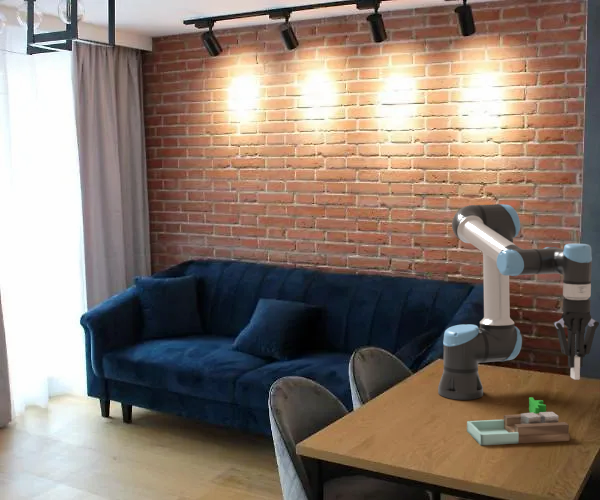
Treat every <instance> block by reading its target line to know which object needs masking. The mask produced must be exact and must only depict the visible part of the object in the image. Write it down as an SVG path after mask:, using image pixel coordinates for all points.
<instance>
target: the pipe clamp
mask: <svg viewBox="0 0 600 500" xmlns="http://www.w3.org/2000/svg"><path fill="white" fill-rule="evenodd" d="M528 411H529V412H528V413H531V412H533V413H535V414H539V412H547V405H546V404H544V400H541V399H538V400H537V399H536V400H535V399H534V396H533V397H532V396H531V397H529V398H528Z"/></svg>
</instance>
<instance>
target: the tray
mask: <svg viewBox="0 0 600 500" xmlns="http://www.w3.org/2000/svg"><path fill="white" fill-rule="evenodd" d="M466 432H467V433H468V434H469V435H470V436H471V437H472V438H473V440H475V441H476V442H477V443H478V444H479V446H495V445H511V444H519V443H518V439H519V433H518V432H510V433H509V432H507V431H506V430H505V429H504V419H488V420H487V419H486V420H482V419H481V420H467V421H466Z"/></svg>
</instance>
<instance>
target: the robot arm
mask: <svg viewBox="0 0 600 500" xmlns="http://www.w3.org/2000/svg"><path fill="white" fill-rule="evenodd" d="M451 230H452V232H453V235H455V237H456V239H457V238H458V240H460V241H461V242H463V243H465V244H471V245H472V246H473V247H474V248H476V249H478V250H479V251H481V252H482V261H483V263H482V266H483V267H482V269H483V318H482V319H481V320H480V321H479V326H478V325H476V324H464V323H463V324H457V325H452V326H450V327H448V328H447V329H445V331H444V334H443V340H442V343H443V372H442V375H441V378H440V380H439V383H438V387H437V390H438V392H437V393H438V395H440V396H441V397H444V398H447V399H450V400H460V401H461V400H462V401H464V400H465V401H467V400H476V399H479V398H482V397H483V396H484V387H483V383H482V381H481V380H482V379H481V378H480V375H479V363H490V362H491V363H492V362H505V361H510V360H511V361H512V360H514V359H515V358H517V356H518V355H519V354H520V352H521V349H522V344H523V337H522V334H521V331H520V328H518V327H517V326H515V322H514V321H513V319H512V318H511V317H510V315H511V313H510V312H511V311H510V310H511V308H510V276H511V277H517V276H528V275H529V276H531V275H549V274H558V275H563V276H562V279H563V280H562V281H563V282H562V297H563V299H562V314H561V316H560V317H561V318H560V319H559V320H557V321H553V322H552V323H553V326H554V327H555V329H556V332H557V338H558V342H559V347H560V351H561V353H562V354H563V355H565V356H567V366H568V367H569V368H570V378H571V379H573V380H575V381H576V380H580V378H581V375H580V374H581V373H580V372H581V368H583V366H584V363H583V361H584V359H583V358H585V357H586V355H590V353H591V349H592V345H593V341H594V337H595V334H596V333H595V332H596V330H597V329H598V327H599V325H600V323H599V321H597V320H595V319H593V318H592V315H591V303H592V301H591V299H590V297H591V295H592V294H591V293H592V290H591V289H592V285H591V284H592V268H593V267H592V264H593V263H592V262H593V256H592V246H591V245H590V244H588V243H587V244H586V243H566V244H565V245H564V247H563V248H559V247H557V246H546V247H544V248H528V249H527V248H525V249H524V248H522V247H520V246H518V245H516V244H515V243H514V239H515V238H516V237H518V236H519V234H520V231H521V221H520V217H519V213H518V212H517V211H516V209H515V208H514V207H513V206H511V205H510V204H502V203H501V204H500V203H497V204H496V203H495V204H471V205H470V204H469V205H466V206H463V207H461V208H459V210H457V211H456V212H455V214H454V215H453V218H452V221H451ZM587 325H588V326H587ZM564 327H566V331H567V337H566V331H565V329H564ZM586 327H587V328H586Z"/></svg>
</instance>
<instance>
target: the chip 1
mask: <svg viewBox="0 0 600 500" xmlns="http://www.w3.org/2000/svg"><path fill="white" fill-rule="evenodd" d="M520 414H521V424H534V423H541V416H539V415H537V414H535V413H533V412H531V413H530V412H524V413H520Z"/></svg>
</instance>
